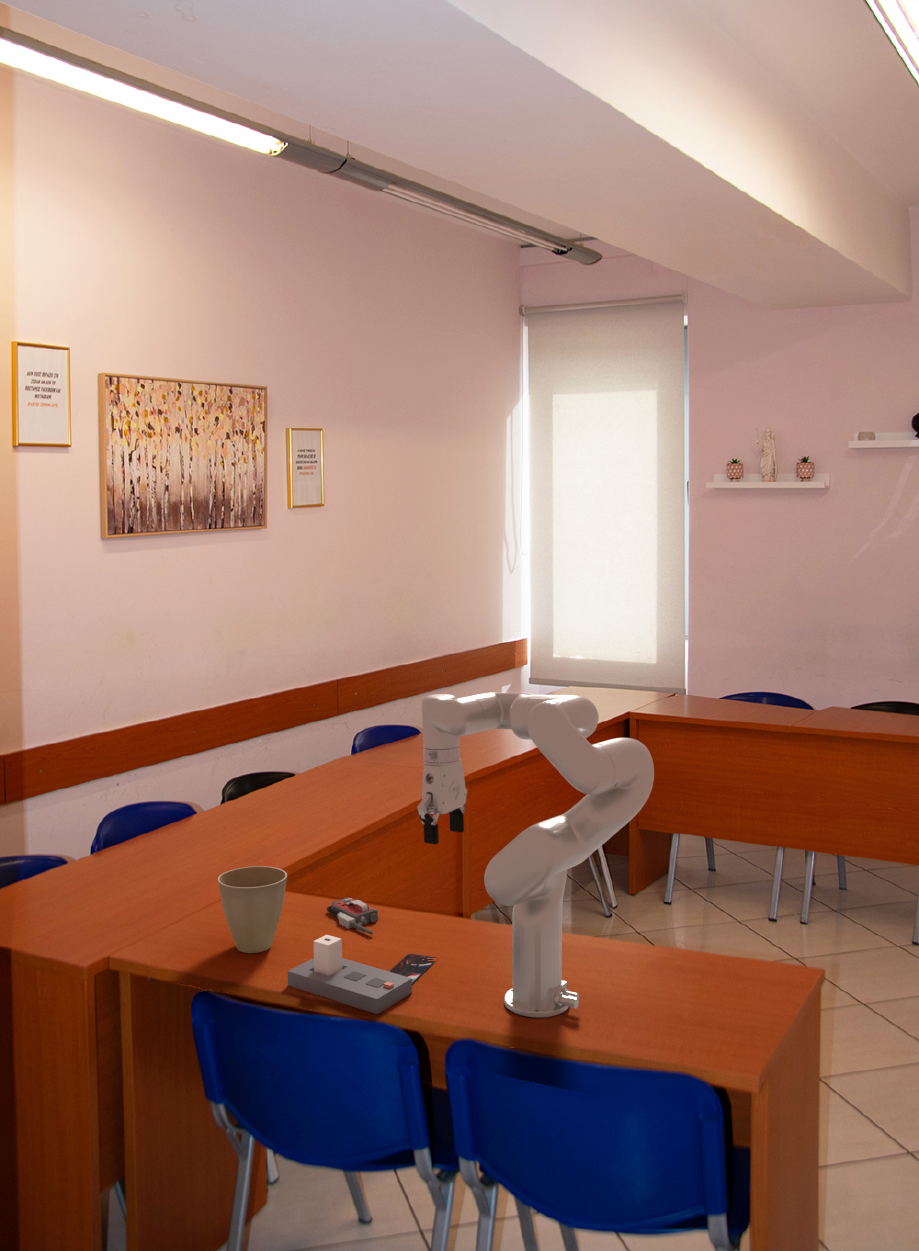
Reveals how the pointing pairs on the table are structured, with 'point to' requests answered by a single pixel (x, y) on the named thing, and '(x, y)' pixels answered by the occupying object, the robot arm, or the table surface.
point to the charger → (328, 955)
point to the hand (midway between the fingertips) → (444, 837)
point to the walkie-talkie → (353, 913)
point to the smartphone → (413, 966)
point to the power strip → (353, 985)
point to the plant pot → (253, 905)
